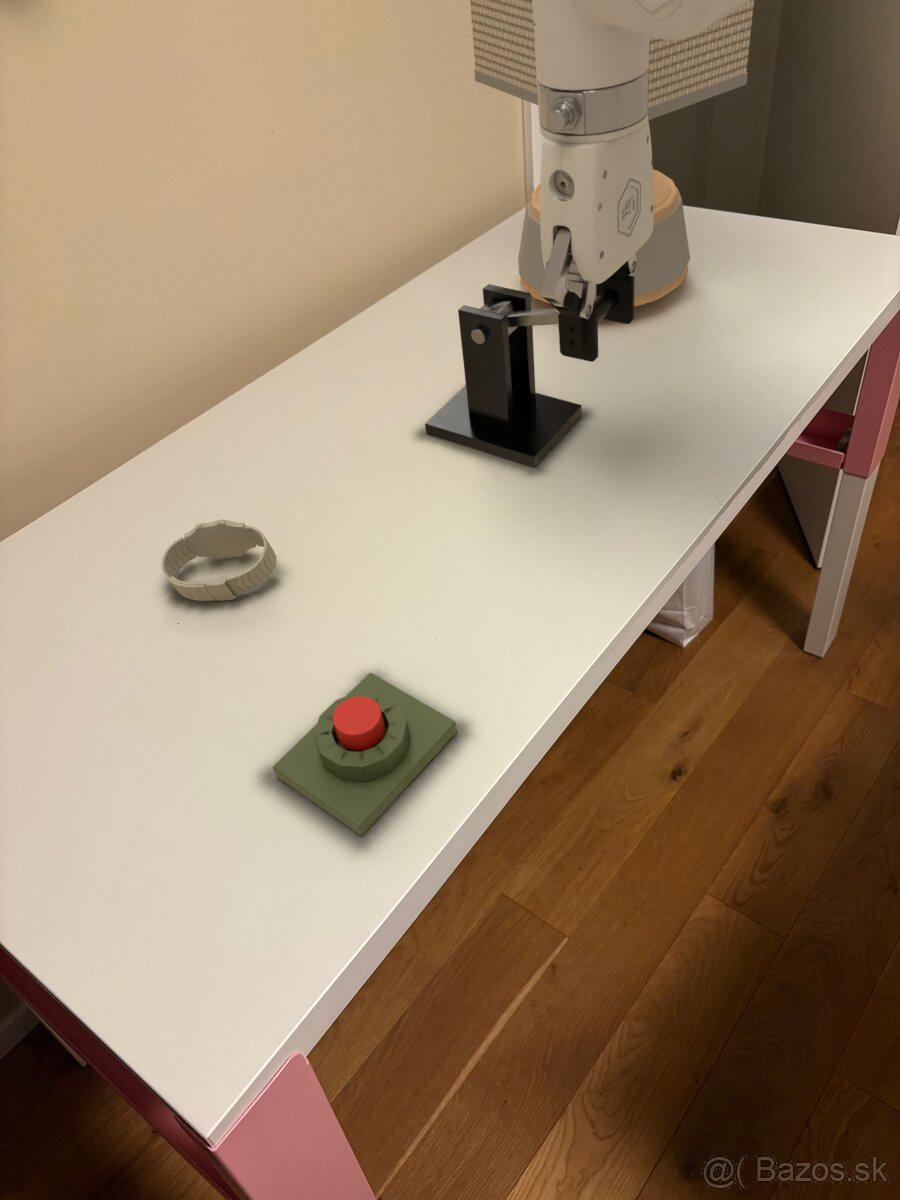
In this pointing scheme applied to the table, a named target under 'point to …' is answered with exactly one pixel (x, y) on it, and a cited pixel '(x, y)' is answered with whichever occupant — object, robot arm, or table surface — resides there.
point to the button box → (366, 756)
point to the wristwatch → (219, 544)
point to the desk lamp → (672, 84)
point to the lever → (548, 311)
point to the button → (359, 723)
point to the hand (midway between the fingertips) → (597, 336)
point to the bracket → (501, 389)
